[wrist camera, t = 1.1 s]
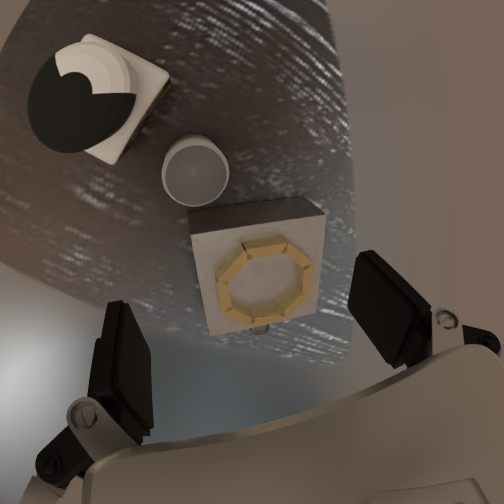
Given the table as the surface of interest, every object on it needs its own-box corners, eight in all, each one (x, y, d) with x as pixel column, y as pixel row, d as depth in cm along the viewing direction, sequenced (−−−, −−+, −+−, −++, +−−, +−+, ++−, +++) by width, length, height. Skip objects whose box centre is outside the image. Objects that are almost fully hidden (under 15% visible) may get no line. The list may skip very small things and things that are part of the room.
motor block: (187, 212, 27) (191, 241, 21) (303, 196, 29) (332, 219, 24) (208, 323, 34) (215, 361, 29) (298, 304, 37) (317, 337, 32)
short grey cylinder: (161, 138, 22) (156, 148, 17) (216, 130, 23) (228, 138, 18) (168, 190, 25) (167, 214, 20) (220, 182, 26) (233, 203, 21)
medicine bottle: (129, 150, 22) (93, 189, 12) (68, 117, 19) (-4, 136, 9) (173, 82, 20) (169, 63, 10) (109, 48, 17) (59, 12, 7)
